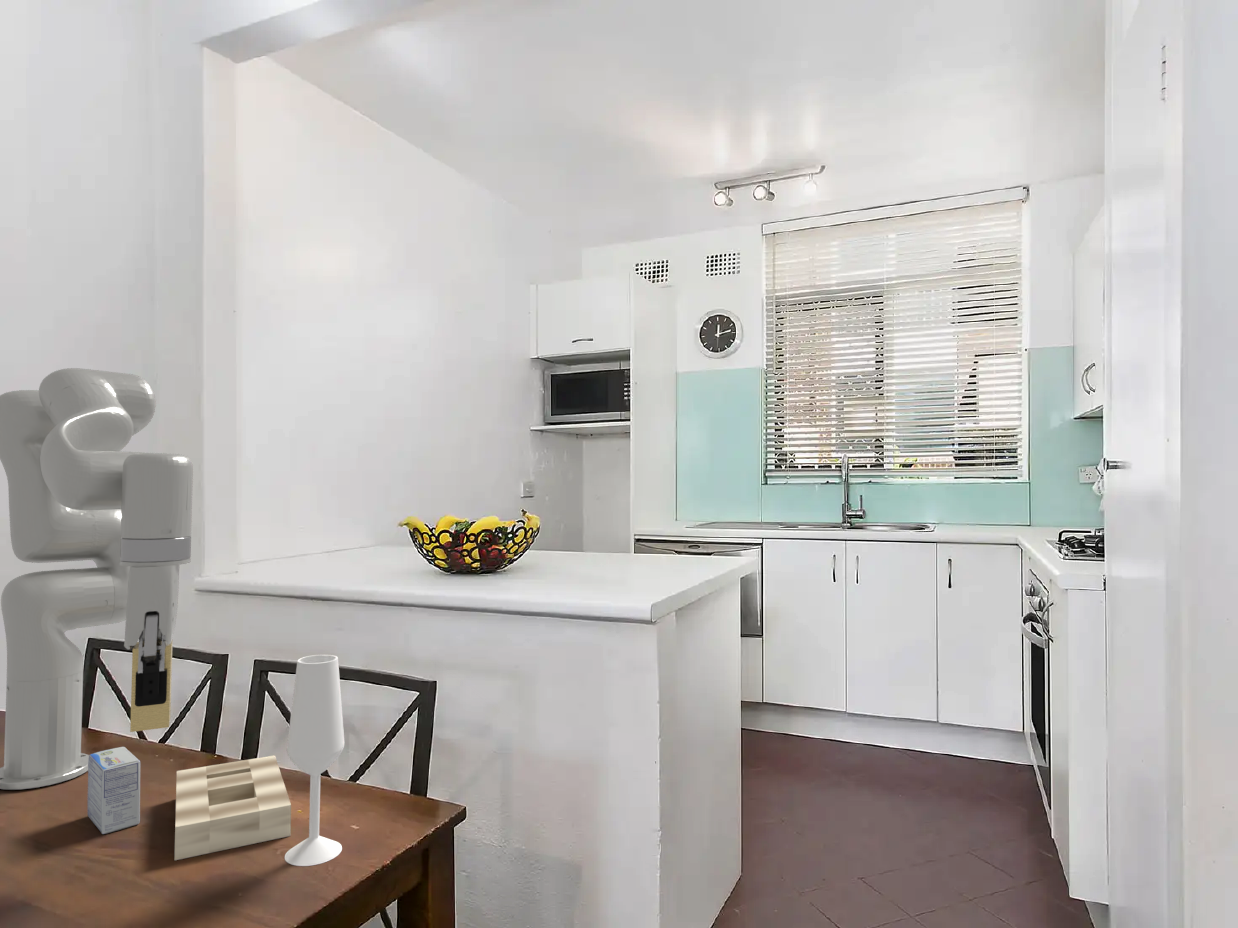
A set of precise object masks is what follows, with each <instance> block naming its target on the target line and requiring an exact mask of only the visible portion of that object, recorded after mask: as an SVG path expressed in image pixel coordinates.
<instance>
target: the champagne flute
mask: <svg viewBox="0 0 1238 928" xmlns="http://www.w3.org/2000/svg"><path fill="white" fill-rule="evenodd" d="M339 667H340V666H339V657H338V656H337V655H334V654H313V655H307V656H303V657H301V658H299V659H297V662H296V669H295V678H294V686H293V694H292V703H291V704H292V705H291V710H290V712H291V713H290V719H289V728H288V736H287V745H286V753H287V756H288V759H290V761H291V762H292V764H294V766H295V767H297V768H298V769H299V770H301V771H302V772H303V773H304V774H307V775H309V776H310V778H309V779H310V780H309V783H310V784H309V818H308V819H309V820H308V821H309V823H308V827H309V828H308V837H307V838H306V839H304V840H302V841H301V842H299V843H298V844H296V845H294V846H293V847H292V848H290V849H288V851H287V852H286V853H285V854H284V861H285V862H286V863H287V864H290V865H292V866H295V867H296V866H297V867H309V866H316V865H321V864H324V863H326V862H329V861H331V860H333V859H335V858H336V857H338V856H339V855H340V854H341V852H342V850H343V847H342V844H341V843H340V842H339V841H336V840H334V839H330V838H328V837H324V836H323V835H320V812H321V811H320V810H321V774H323V773H324V772H326V770H328V769H329V768H330V767H331V765H332V764H334V763H335V762H336V761H337V759H338V758H339V757H340V756H341V754H342V752H343V750H344V748H345V733H344V732H345V731H344V718H343V707H342V706H343V705H342V694H341V693H342V692H341V680H340V678H341V677H340V669H339Z"/></svg>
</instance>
